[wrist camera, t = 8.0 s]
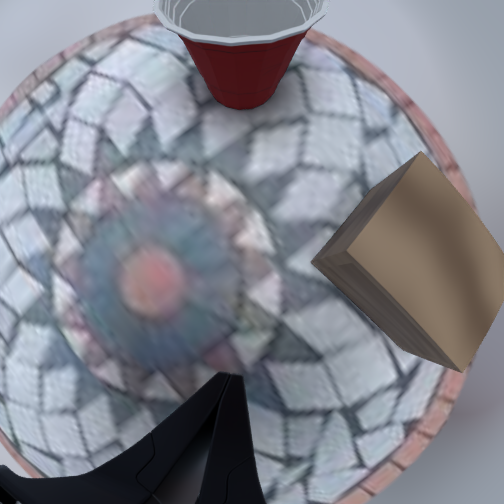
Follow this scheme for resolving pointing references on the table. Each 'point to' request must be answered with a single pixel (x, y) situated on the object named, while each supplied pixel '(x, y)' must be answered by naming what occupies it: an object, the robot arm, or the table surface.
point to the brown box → (419, 265)
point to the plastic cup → (241, 42)
